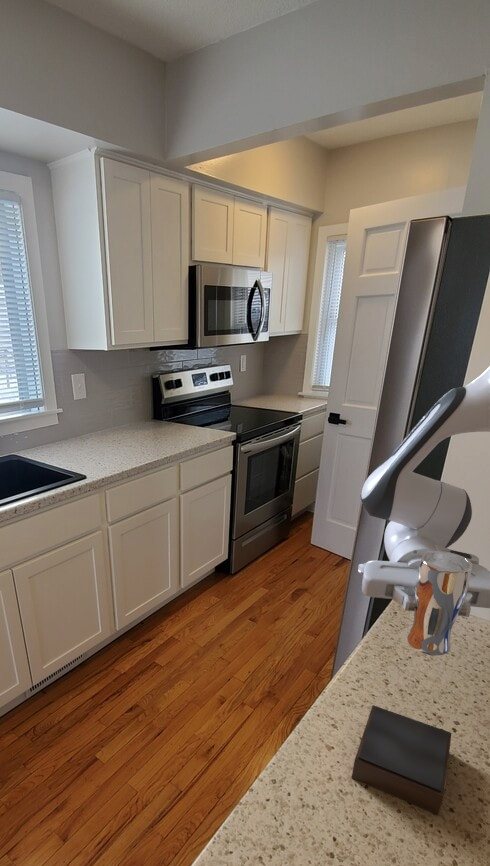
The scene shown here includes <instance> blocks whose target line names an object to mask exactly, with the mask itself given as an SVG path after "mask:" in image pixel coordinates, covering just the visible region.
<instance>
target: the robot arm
mask: <svg viewBox="0 0 490 866" xmlns="http://www.w3.org/2000/svg"><path fill="white" fill-rule="evenodd" d="M478 432H479V433H481V432H483V433H484V432H485V433H486V432H487V433H490V365H489V366H488V368H487V369H486V370H485V371H484V372H483V373H481V374H480V375H479V376H478V377H476V378H475V379H474V380H472V381H471V382H469V383H467V384H466V385H464V386H460V387H454V388H452V389H449V390H448V391H447V392H446V393H444V395H442V396H441V397H440V398H439V399H438V401H436V402H435V403H434V405H432V406H431V408H430V409H429V410H428V411H427V412H426V413H425V414H424V416H422V418H420V420H419V421H418V423H416V425H415V426H414V427H413V428H412V429H411V430H410V432H409V433H408V434H407V435H406V436H405V437H404V438H403V440H402V441H401V442H400V443H399V444H398V445H397V446H396V447H395V449H394V450H393V451H392V452H391V454H390V455H388V457H386V459H384V460H383V461H382V462H381V463H380V464H379V465H378V466H377V467H376V468H375V469H374V470H373V471H372V472H371V474H370V475H368V477H367V478H366V480H365V481H364V484H363V485H362V488H361V491H360V501H361V503H362V506H363V508H364V509H365V511H366V512H367V513H368V515H369V516H370V517H372V518H377V519H380V520H385V521H389V522H388V523H387V525H386V528H385V531H384V534H383V535H384V536H383V537H384V538H383V541H384V549H385V552H386V556H387V558H388V560H368V561H366V562H365V563H359V564H358V566H357V571H358V573H359V575H361V576H362V582H361V592H362V594H364V596H367V597H368V598H377V599H386V600H387V599H389V600H393V601H394V602H396V603H397V604H399V605H400V606H402V609H403V611H407V612H414V611H415V607H416V602H415V600H414V587H415V580H416V576H417V572H418V569H419V565H420V562H421V559H422V555H423V554H425V553H427V552H431V551H444V552H450V553H454V554H457V555H460V556H462V557H464V558H466V559H468V560H469V561H470V562H471V563H472V569H471V576H470V583H469V588H468V592H467V596H466V599H465V602H464V604H463V606H462V608H461V610H460V612H459V614H458V616H457V617H466V618H469V617H470V614H471V608H484V609H490V570H489V569H488V568H486V567H485V566H483V565H480V558H479V557H478V556H477V555H476V554H472V553H467V552H464V551H463V552H462V551H458V550H455V549H450V547H451V546H452V545H453V544H455V543H456V542H458V540H459V539H460V538H461V537H462V536H463V535H464V533H465V532H466V531H467V529H468V527H469V525H470V523H471V520H472V517H473V507H472V502H471V499H470V496H469V494H468V492H467V491H466V490H465V489H464V488H461V487H458V486H455V485H453V484H450V483H447V482H444V481H441V480H438V479H437V480H436V479H434V478H431V477H428V476H425V475H422V474H421V473H420V474H419V473H416V472H414V470H415V469H416V468H417V467H418V466H419V465H420V464H421V463H422V462H423V461H424V459H426V458H427V456H428V455H429V454H430V453H431V452H432V451H433V450H434V449H435V448H436V447H437V445H438V444H440V443H441V442H442V441H444V440H446V439H447V438H449V437H452V436H455V435H460V434H467V433H478Z"/></svg>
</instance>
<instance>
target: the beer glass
mask: <svg viewBox="0 0 490 866" xmlns="http://www.w3.org/2000/svg"><path fill="white" fill-rule="evenodd" d="M471 569H472V563H471V562H470V561H469V560H468V559H466V558H464V557H462V556H460V555H457V554H454V553H450V552H444V551H431V552H427V553H425V554H423V555H422V559H421V562H420V565H419V569H418V572H417V576H416V580H415V587H414V600H415V602H416V607H415V611H413V623H412V626H411V628H410V630H409V632H408V635H407V637H406V639H407V643H408V645H409V646H410V647H411V648H412V649H414V650H415V651H417V652H418V653H421V654H424V655H428V656H432V657H433V656H434V657H439V656H440V657H441V656H445V655H447V654H448V653H449V652H450V650H451V634H452V630H453V626H454V624H455V622H456V621H457V619H458V617H459V616H458V614H459V612H460V610H461V608H462V606H463V604H464V602H465V599H466V596H467V592H468V588H469V583H470V576H471Z"/></svg>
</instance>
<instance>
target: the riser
mask: <svg viewBox="0 0 490 866" xmlns="http://www.w3.org/2000/svg"><path fill="white" fill-rule="evenodd" d="M451 741H452V732H450V731H448V730H445V729H442V728H440V727H436V726H433V725H431V724H428V723H425V722H422V721H420V720H418V719H417V720H416V719H414V718H411V717H408V716H405V715H402V714H399V713H396V712H395V711H390V710H388V709H385V708H382V707H379V706H377V705H372V706H371V708H370V711H369V715H368V718H367V721H366V724H365V727H364V729H363V733H362V736H361V739H360V742H359V745H358V748H357V750H356V751H357V752H356V754H355V757H354V761H353V768H352V773H351V779H353V780H355V781H358V782H360V783H362V784H364V785H367V786H369V787H372V788H374V789H376V790H378V791H380V792H383V793H385V794H388V795H389V796H392V797H395V798H397V799H400V800H401V801H403V802H406V803H409V804H410V805H413V806H415V807H418V808H419V809H422V810H424V811H426V812H429V813H432V814H434V815H436V816H439V814H440V811H441V807H442V804H443V800H444V797H445V789H446V781H447V772H448V765H449V757H450V748H451Z"/></svg>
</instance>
